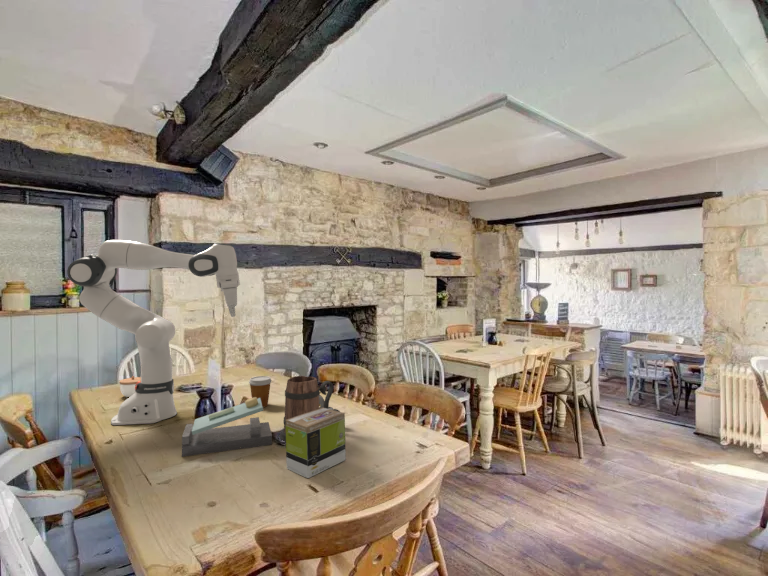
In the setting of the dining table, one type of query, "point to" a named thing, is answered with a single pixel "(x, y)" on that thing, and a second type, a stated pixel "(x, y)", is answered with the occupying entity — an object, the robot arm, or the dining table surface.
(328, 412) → the tea box
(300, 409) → the tankard
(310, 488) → the dining table surface
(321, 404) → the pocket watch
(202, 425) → the plate
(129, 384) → the lidded jar
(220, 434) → the base
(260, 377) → the disposable coffee cup
